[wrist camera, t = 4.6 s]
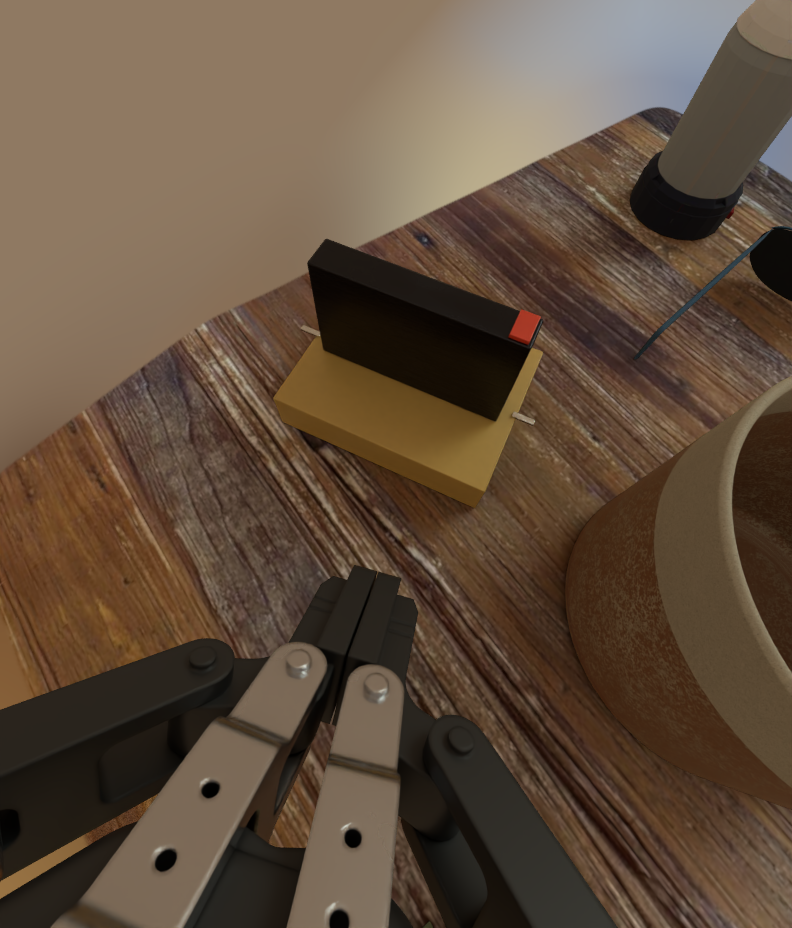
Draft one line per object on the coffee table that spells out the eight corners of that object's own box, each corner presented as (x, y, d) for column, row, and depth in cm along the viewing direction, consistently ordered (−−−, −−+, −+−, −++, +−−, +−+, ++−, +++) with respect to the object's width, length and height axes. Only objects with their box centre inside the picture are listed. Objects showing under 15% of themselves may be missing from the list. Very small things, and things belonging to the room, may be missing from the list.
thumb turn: (322, 350, 29) (305, 258, 22) (337, 328, 30) (325, 233, 23) (495, 422, 27) (532, 345, 21) (507, 397, 28) (546, 315, 21)
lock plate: (268, 415, 30) (256, 389, 28) (344, 304, 35) (341, 271, 32) (491, 516, 28) (503, 499, 25) (544, 383, 32) (560, 356, 29)
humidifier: (741, 225, 40) (1228, -367, 17) (667, 250, 38) (1093, -365, 15) (682, 169, 43) (1030, -399, 20) (611, 190, 41) (900, -400, 18)
